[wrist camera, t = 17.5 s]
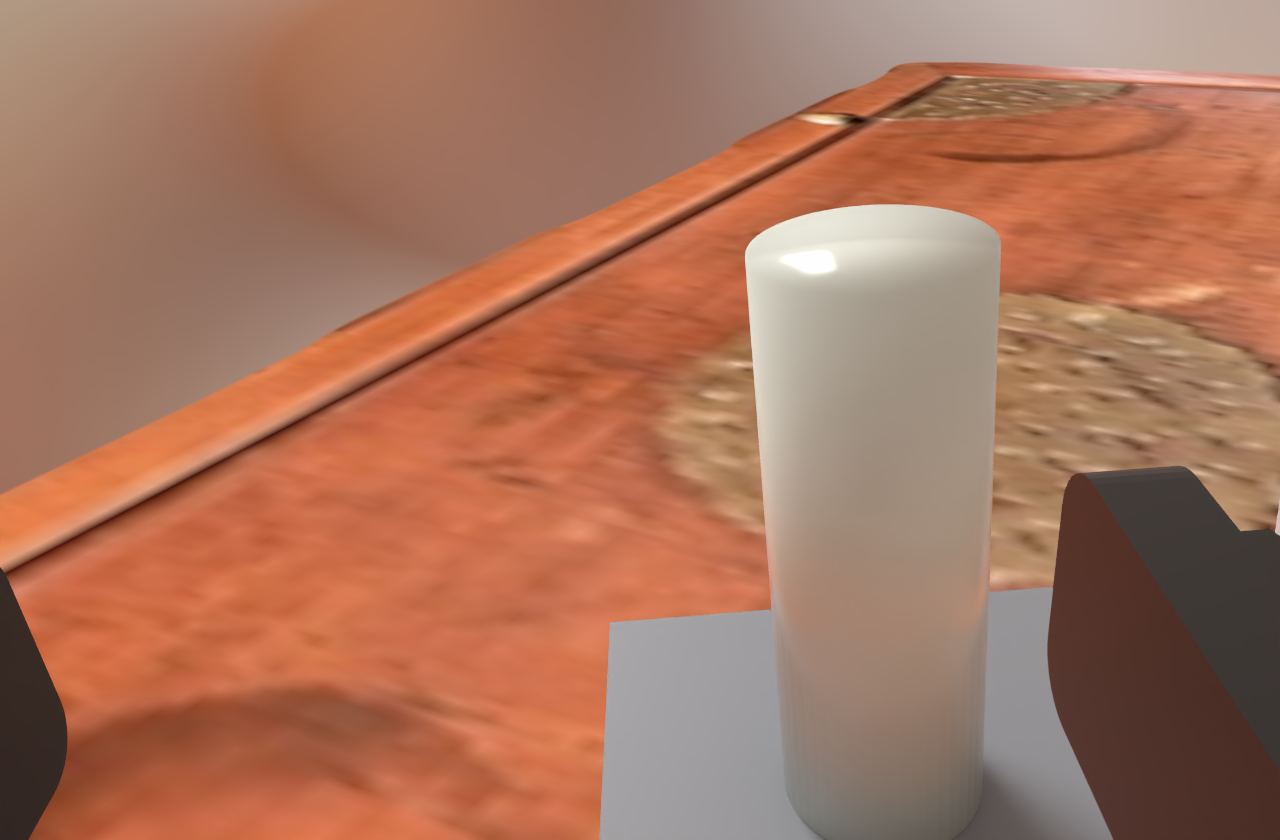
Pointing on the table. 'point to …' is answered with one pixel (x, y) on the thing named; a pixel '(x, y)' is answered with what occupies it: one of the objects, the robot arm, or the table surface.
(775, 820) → the slate plinth
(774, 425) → the white cylinder
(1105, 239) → the table surface
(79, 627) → the table surface
